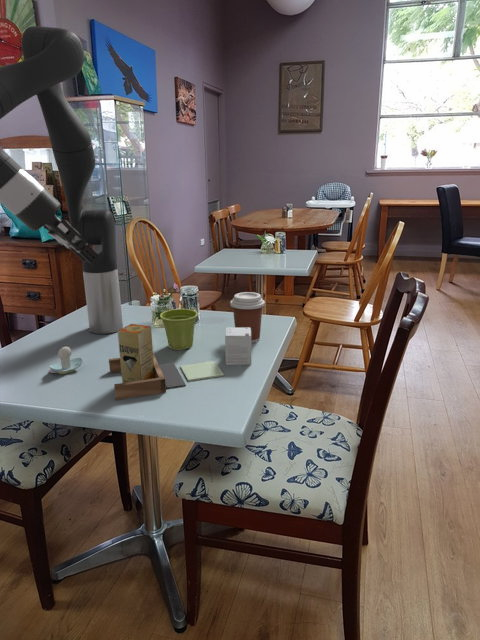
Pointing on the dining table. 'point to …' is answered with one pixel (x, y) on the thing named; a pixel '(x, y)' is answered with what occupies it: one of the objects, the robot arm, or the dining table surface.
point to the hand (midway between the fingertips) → (92, 259)
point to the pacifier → (65, 362)
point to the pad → (201, 371)
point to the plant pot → (179, 327)
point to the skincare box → (238, 346)
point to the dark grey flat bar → (172, 376)
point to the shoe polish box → (136, 353)
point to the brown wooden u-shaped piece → (138, 382)
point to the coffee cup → (248, 312)
